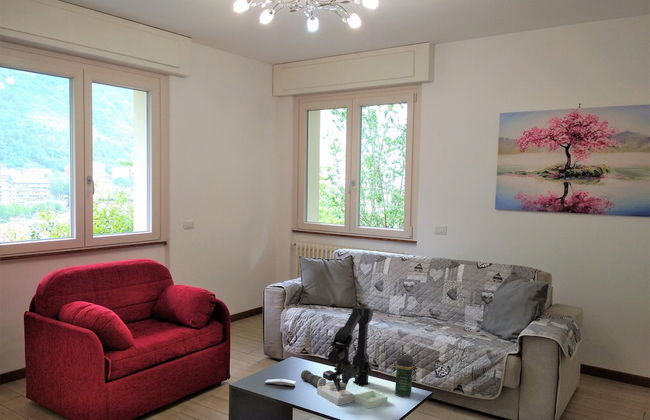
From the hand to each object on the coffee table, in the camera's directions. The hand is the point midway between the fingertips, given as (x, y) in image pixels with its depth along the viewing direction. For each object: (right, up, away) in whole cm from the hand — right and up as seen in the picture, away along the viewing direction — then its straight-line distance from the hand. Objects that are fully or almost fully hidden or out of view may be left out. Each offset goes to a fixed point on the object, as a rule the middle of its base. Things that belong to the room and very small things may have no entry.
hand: (341, 390), depth 238 cm
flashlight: (-14, -4, +19) cm, 23 cm away
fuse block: (-3, -4, +3) cm, 6 cm away
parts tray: (+14, -5, 0) cm, 15 cm away
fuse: (-5, -4, +7) cm, 9 cm away
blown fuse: (0, -5, 0) cm, 4 cm away
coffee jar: (+31, -6, +12) cm, 34 cm away
